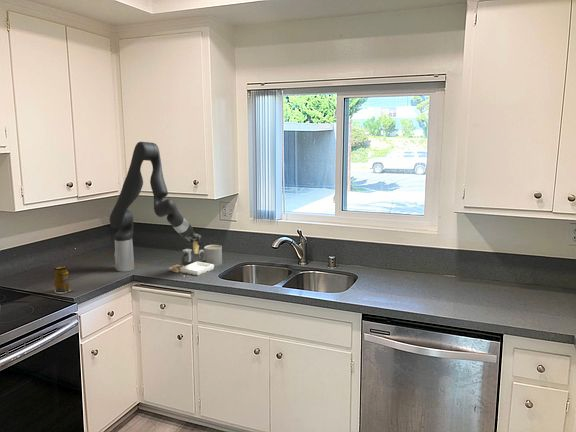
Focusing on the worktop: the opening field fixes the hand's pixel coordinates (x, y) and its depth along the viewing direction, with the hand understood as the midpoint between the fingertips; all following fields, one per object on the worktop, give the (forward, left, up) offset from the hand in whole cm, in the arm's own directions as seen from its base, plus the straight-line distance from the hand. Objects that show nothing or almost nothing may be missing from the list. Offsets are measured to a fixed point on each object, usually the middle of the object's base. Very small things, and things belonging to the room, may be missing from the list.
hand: (198, 244), depth 252 cm
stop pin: (0, -2, -4) cm, 5 cm away
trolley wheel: (-10, +2, -15) cm, 18 cm away
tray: (0, -1, -15) cm, 15 cm away
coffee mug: (-2, +13, -15) cm, 20 cm away
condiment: (-35, -58, -15) cm, 70 cm away
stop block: (-10, -7, -15) cm, 19 cm away
